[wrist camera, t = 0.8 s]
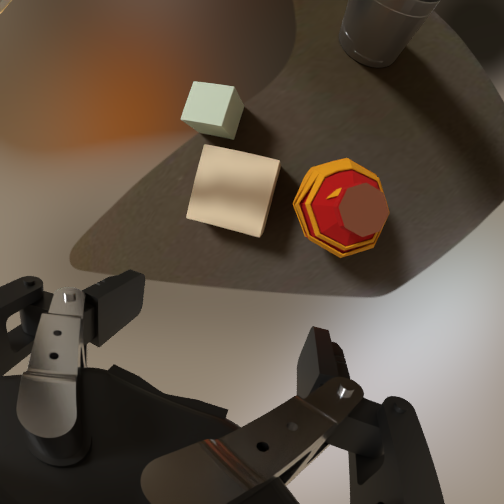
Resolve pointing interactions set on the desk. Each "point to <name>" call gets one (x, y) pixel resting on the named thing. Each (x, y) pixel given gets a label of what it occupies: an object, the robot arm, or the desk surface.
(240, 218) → the beech base
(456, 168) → the desk surface
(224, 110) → the green block
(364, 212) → the potion bottle
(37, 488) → the robot arm
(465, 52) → the desk surface
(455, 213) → the desk surface
